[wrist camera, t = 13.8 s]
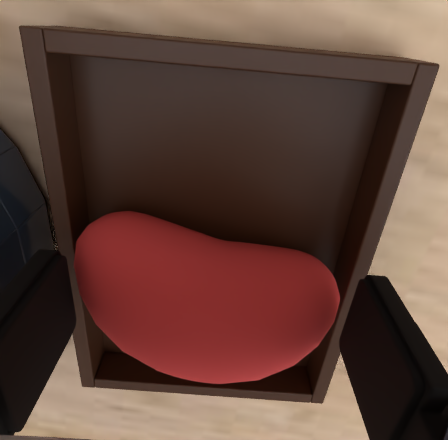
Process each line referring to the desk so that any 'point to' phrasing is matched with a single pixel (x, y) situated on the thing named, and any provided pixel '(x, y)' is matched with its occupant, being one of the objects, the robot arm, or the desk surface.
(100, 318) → the red kidney bean
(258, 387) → the tray
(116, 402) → the desk surface
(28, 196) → the bowl
